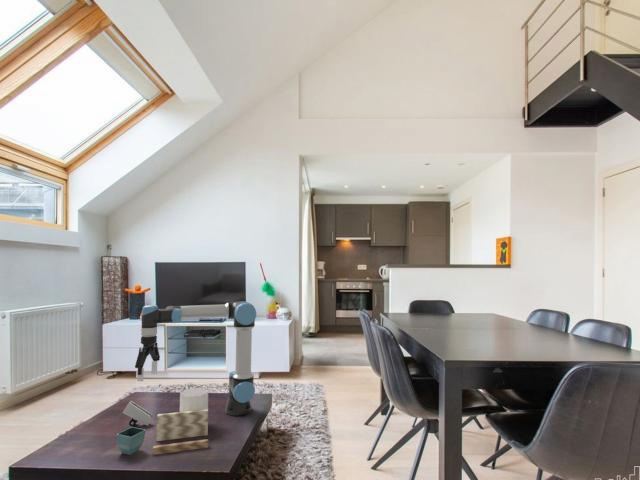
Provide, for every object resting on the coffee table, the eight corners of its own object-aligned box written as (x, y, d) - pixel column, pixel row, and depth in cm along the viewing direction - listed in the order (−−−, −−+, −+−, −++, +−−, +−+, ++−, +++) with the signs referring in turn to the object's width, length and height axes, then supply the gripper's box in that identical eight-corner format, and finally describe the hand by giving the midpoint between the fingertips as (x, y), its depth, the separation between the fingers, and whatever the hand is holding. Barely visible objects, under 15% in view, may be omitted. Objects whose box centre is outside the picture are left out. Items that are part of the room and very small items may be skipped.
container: (174, 427, 201) (175, 392, 203) (198, 419, 212) (199, 386, 213) (187, 435, 192) (188, 398, 193) (212, 426, 202) (213, 392, 203)
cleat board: (207, 433, 193) (208, 409, 194) (208, 447, 178) (208, 421, 179) (156, 439, 186) (157, 414, 187) (152, 454, 171) (153, 427, 172)
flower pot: (145, 449, 176) (146, 429, 177) (130, 458, 168) (131, 437, 169) (130, 446, 179) (131, 426, 180) (115, 454, 171) (116, 434, 172)
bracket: (118, 419, 200) (143, 432, 201) (128, 402, 200) (153, 416, 202) (121, 416, 204) (145, 429, 205) (131, 399, 204) (156, 413, 206)
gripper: (154, 331, 210) (152, 370, 208) (128, 339, 185) (126, 384, 184) (167, 331, 209) (166, 370, 208) (143, 340, 185) (141, 384, 183)
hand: (147, 377), depth 196 cm, fingers open, 13 cm apart
